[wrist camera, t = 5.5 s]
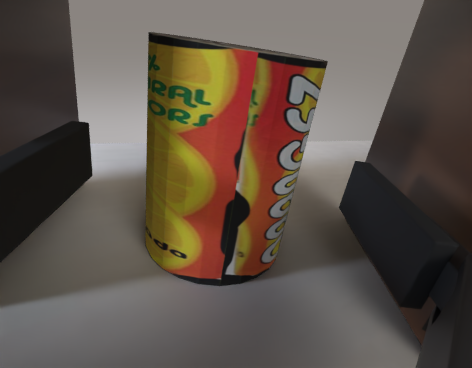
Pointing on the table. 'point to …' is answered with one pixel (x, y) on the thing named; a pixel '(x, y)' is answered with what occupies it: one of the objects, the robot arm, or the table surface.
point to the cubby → (383, 146)
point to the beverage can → (223, 154)
